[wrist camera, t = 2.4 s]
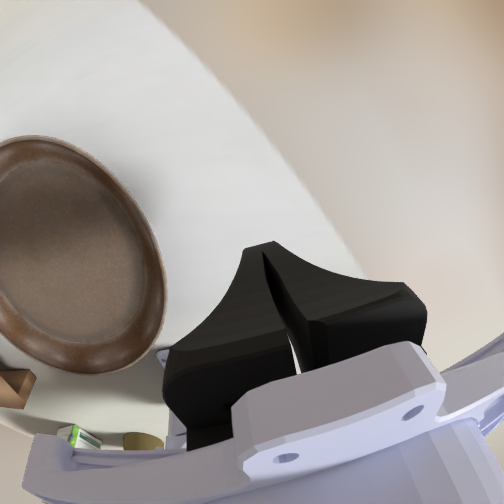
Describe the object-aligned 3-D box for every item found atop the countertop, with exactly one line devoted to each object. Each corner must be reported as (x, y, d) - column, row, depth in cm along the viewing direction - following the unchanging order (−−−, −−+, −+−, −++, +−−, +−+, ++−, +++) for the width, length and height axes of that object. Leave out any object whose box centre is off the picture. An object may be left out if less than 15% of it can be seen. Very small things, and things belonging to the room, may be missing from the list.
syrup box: (103, 441, 33) (93, 521, 20) (84, 444, 33) (72, 516, 21) (74, 423, 30) (57, 507, 17) (56, 427, 31) (40, 502, 18)
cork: (171, 448, 34) (171, 512, 24) (138, 450, 34) (134, 510, 24) (149, 430, 31) (145, 502, 22) (115, 433, 31) (106, 499, 22)
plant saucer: (-50, 210, 15) (-70, 223, 13) (98, 76, 14) (78, 70, 11) (54, 366, 25) (45, 387, 22) (216, 315, 24) (217, 343, 21)
